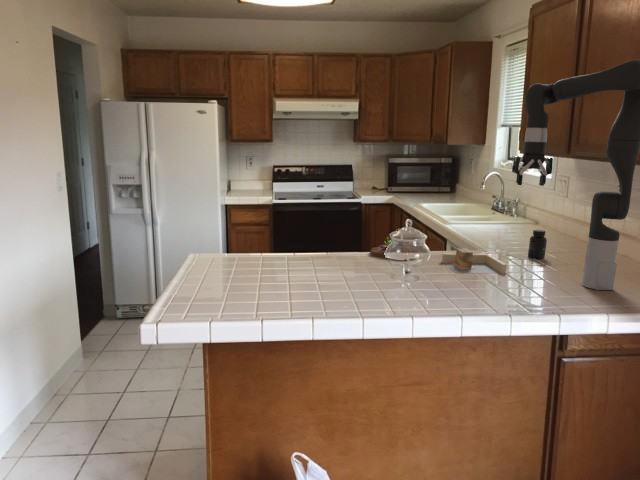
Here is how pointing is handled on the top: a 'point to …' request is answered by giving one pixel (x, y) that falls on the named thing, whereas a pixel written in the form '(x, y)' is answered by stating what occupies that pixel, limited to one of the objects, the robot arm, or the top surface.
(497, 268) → the tray
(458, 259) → the oak block
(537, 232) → the supplement bottle
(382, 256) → the brown rough-edged lump
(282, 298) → the top surface
